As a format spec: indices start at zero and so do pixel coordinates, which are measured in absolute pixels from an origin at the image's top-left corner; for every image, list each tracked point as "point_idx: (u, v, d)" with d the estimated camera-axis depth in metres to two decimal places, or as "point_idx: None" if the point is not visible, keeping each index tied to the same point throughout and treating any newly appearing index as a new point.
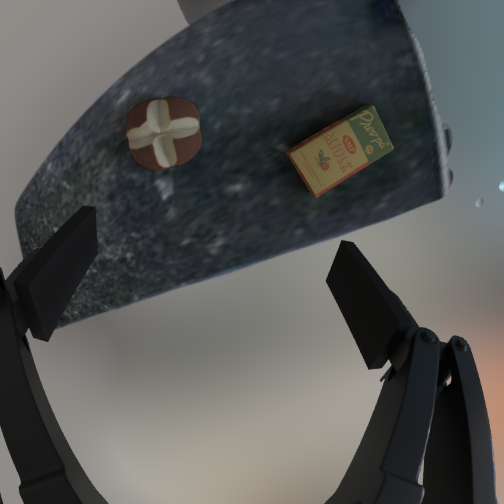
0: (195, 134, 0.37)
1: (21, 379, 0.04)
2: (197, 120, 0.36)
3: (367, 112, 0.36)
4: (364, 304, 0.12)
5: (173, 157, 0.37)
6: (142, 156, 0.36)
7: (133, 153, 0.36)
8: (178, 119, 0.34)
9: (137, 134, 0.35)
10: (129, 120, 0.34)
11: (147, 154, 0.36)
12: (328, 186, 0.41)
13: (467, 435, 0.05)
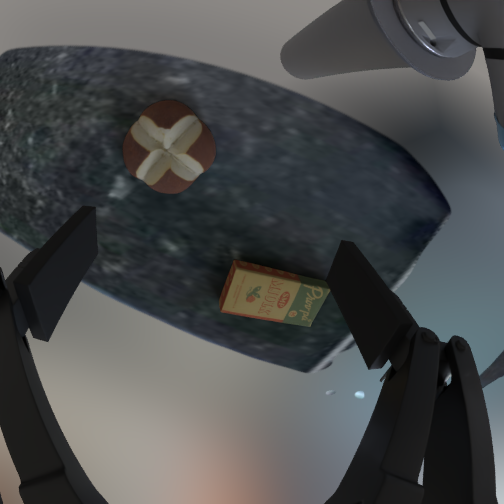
0: (188, 182, 0.33)
1: (21, 379, 0.04)
2: (202, 171, 0.34)
3: (321, 290, 0.43)
4: (364, 304, 0.12)
5: (153, 180, 0.32)
6: (132, 150, 0.30)
7: (128, 138, 0.29)
8: (192, 158, 0.31)
9: (149, 129, 0.29)
10: (157, 108, 0.28)
11: (136, 154, 0.30)
12: (237, 312, 0.43)
13: (467, 435, 0.05)
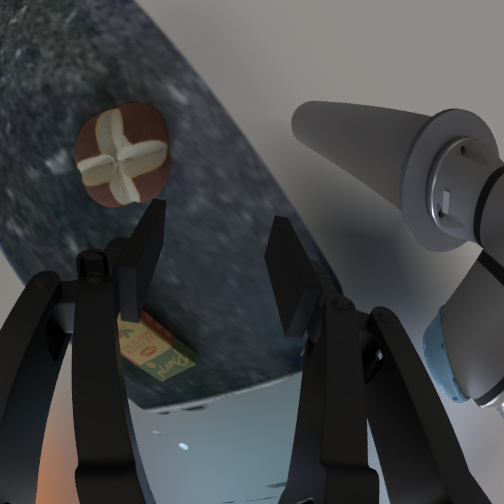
0: (118, 204, 0.28)
1: (110, 367, 0.06)
2: None
3: (186, 360, 0.41)
4: (284, 273, 0.13)
5: (88, 181, 0.25)
6: (86, 139, 0.23)
7: (91, 123, 0.23)
8: (134, 186, 0.26)
9: (114, 129, 0.23)
10: (136, 112, 0.23)
11: (87, 146, 0.23)
12: None
13: (418, 420, 0.06)
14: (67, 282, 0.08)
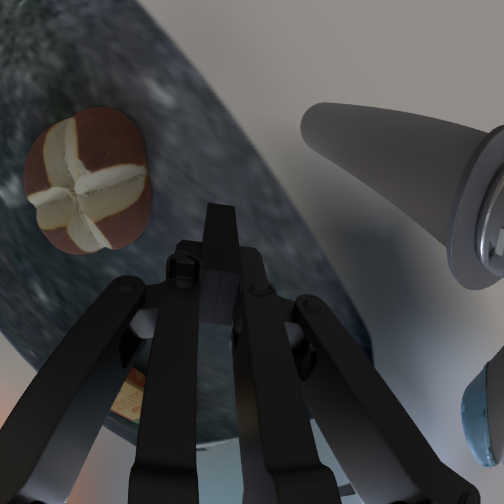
0: (85, 253, 0.19)
1: (188, 374, 0.06)
2: (111, 248, 0.20)
3: None
4: None
5: (41, 223, 0.17)
6: (33, 164, 0.14)
7: (39, 141, 0.14)
8: (100, 232, 0.17)
9: (67, 149, 0.14)
10: (98, 123, 0.15)
11: (35, 175, 0.15)
12: None
13: (369, 419, 0.06)
14: (147, 286, 0.09)
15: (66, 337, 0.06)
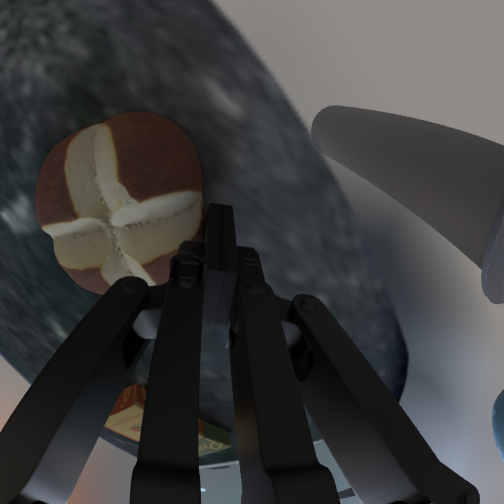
0: None
1: (191, 374, 0.06)
2: None
3: (220, 445, 0.29)
4: None
5: (63, 259, 0.14)
6: (51, 186, 0.12)
7: (58, 154, 0.11)
8: (147, 274, 0.15)
9: (100, 168, 0.12)
10: (144, 134, 0.12)
11: (54, 201, 0.12)
12: (113, 430, 0.25)
13: (367, 420, 0.06)
14: (150, 287, 0.09)
15: (69, 337, 0.06)
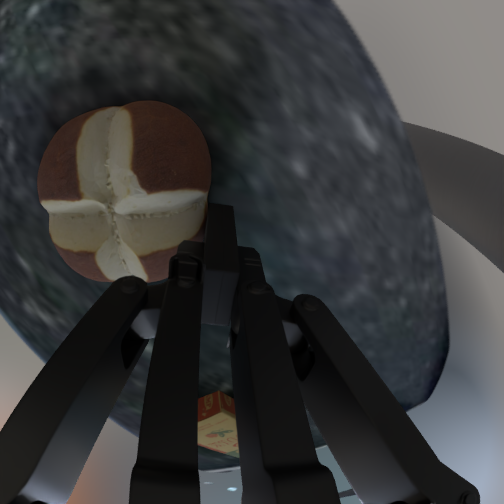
0: (109, 281, 0.16)
1: (190, 374, 0.06)
2: None
3: None
4: None
5: (58, 238, 0.13)
6: (59, 161, 0.11)
7: (71, 130, 0.11)
8: (141, 266, 0.15)
9: (114, 152, 0.12)
10: (163, 126, 0.12)
11: (59, 177, 0.11)
12: None
13: (367, 420, 0.06)
14: (149, 287, 0.09)
15: (68, 337, 0.06)
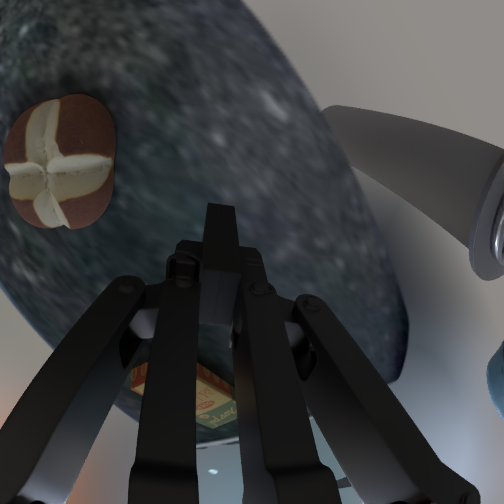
0: (45, 226, 0.19)
1: (188, 374, 0.06)
2: None
3: None
4: None
5: (12, 192, 0.16)
6: (16, 137, 0.14)
7: (25, 115, 0.14)
8: (62, 211, 0.17)
9: (47, 130, 0.14)
10: (78, 111, 0.15)
11: (15, 147, 0.14)
12: None
13: (369, 419, 0.06)
14: (147, 286, 0.09)
15: (66, 337, 0.06)
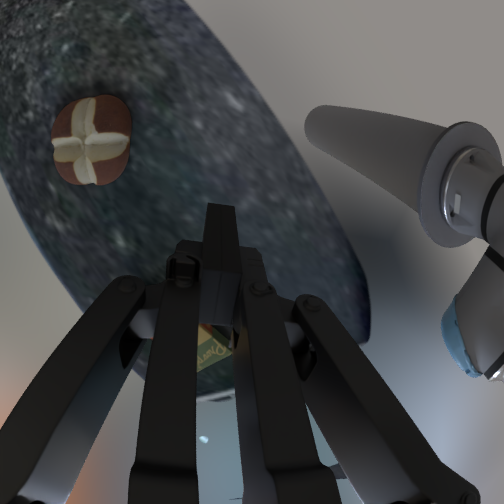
0: (79, 182, 0.29)
1: (188, 374, 0.06)
2: None
3: (224, 350, 0.44)
4: None
5: (57, 157, 0.26)
6: (63, 120, 0.24)
7: (70, 107, 0.24)
8: (93, 169, 0.27)
9: (87, 116, 0.24)
10: (108, 105, 0.25)
11: (63, 127, 0.24)
12: None
13: (369, 419, 0.06)
14: (147, 286, 0.09)
15: (66, 337, 0.06)
